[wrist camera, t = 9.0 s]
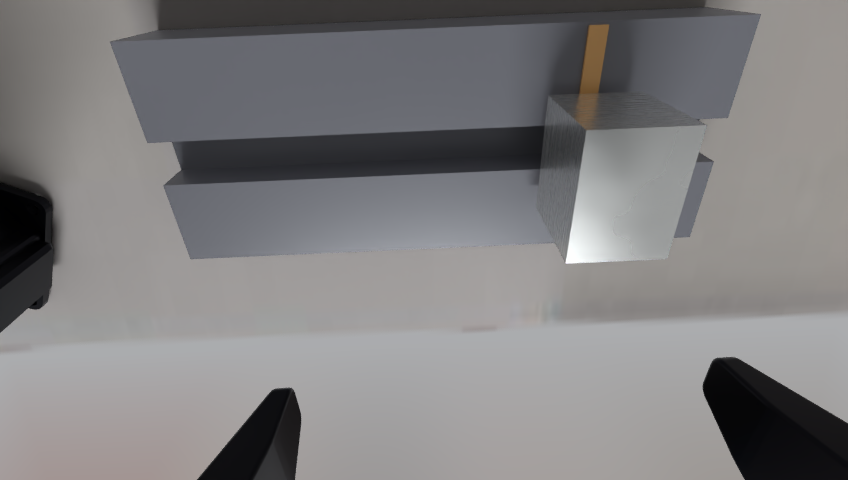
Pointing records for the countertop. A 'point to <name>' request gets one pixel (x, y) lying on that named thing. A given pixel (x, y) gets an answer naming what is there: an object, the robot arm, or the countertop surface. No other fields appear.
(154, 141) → the fader console
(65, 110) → the countertop surface
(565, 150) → the fader tab
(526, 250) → the countertop surface
